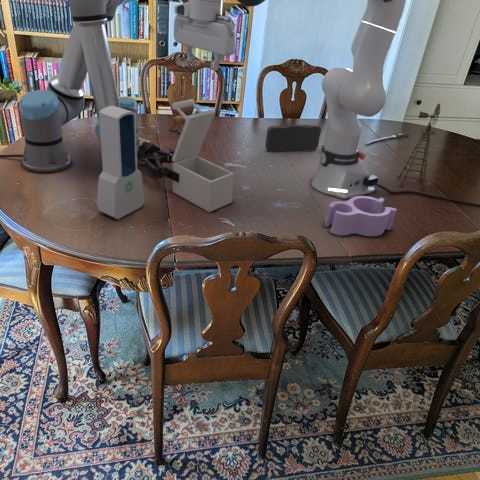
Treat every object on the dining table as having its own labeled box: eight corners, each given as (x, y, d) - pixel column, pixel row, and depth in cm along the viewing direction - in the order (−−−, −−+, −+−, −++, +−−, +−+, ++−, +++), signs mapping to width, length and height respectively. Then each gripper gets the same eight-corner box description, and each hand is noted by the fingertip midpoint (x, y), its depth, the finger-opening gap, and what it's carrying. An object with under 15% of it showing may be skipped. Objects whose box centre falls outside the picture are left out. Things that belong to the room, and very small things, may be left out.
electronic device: (115, 221, 132) (108, 118, 116) (96, 212, 135) (87, 110, 119) (145, 205, 142) (142, 107, 125) (126, 197, 145) (122, 101, 128)
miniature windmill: (423, 190, 169) (451, 109, 153) (399, 186, 170) (425, 105, 154) (420, 180, 177) (446, 101, 161) (397, 176, 178) (421, 97, 162)
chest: (232, 202, 149) (234, 173, 143) (209, 212, 142) (210, 182, 136) (195, 183, 158) (196, 155, 152) (172, 191, 151) (172, 163, 146)
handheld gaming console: (315, 147, 196) (319, 124, 190) (317, 149, 194) (322, 126, 188) (264, 149, 189) (267, 125, 183) (266, 152, 187) (269, 127, 181)
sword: (404, 132, 222) (404, 130, 221) (409, 135, 220) (410, 132, 219) (360, 144, 206) (361, 142, 205) (366, 147, 204) (366, 144, 203)
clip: (337, 240, 135) (342, 219, 131) (318, 218, 145) (322, 198, 141) (395, 233, 141) (402, 213, 137) (373, 213, 151) (378, 194, 147)
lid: (215, 112, 139) (196, 92, 142) (190, 118, 133) (170, 97, 135) (197, 154, 152) (180, 136, 154) (173, 162, 145) (156, 142, 148)
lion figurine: (200, 128, 202) (201, 108, 197) (204, 133, 198) (205, 112, 193) (167, 129, 197) (167, 108, 192) (170, 134, 193) (170, 113, 188)
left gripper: (169, 153, 170) (214, 174, 159) (118, 170, 155) (163, 194, 144) (170, 134, 166) (215, 153, 155) (117, 149, 151) (163, 172, 140)
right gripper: (243, 17, 119) (238, 73, 126) (187, 5, 129) (185, 57, 137) (226, 18, 115) (222, 76, 122) (170, 5, 125) (169, 59, 133)
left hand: (190, 173), depth 149 cm, fingers closed on chest, 10 cm apart
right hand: (202, 66), depth 130 cm, fingers open, 8 cm apart
